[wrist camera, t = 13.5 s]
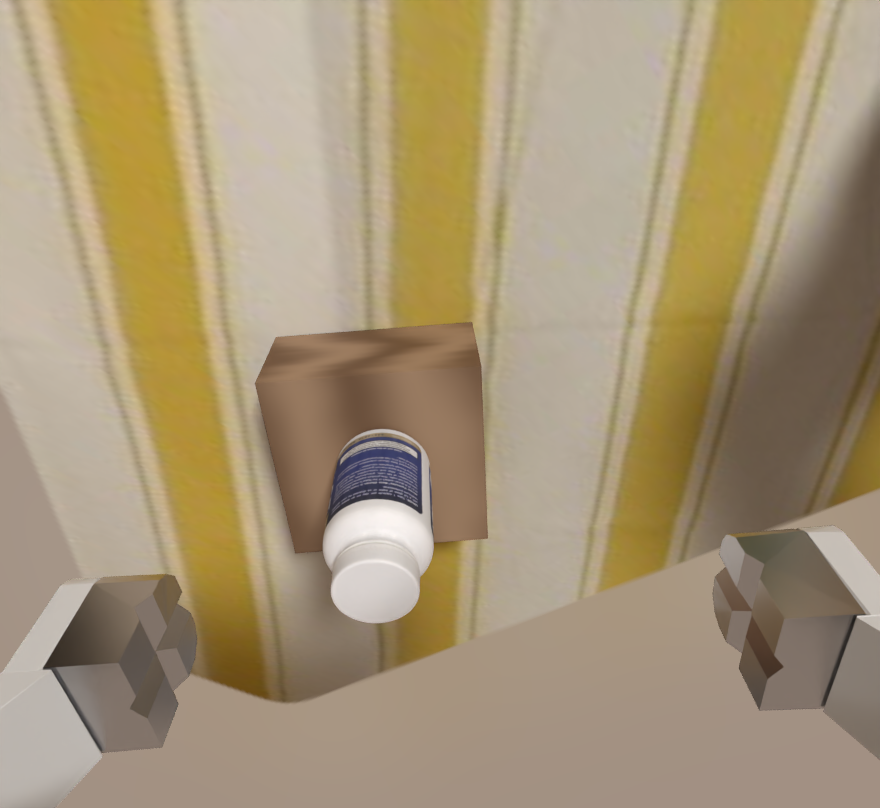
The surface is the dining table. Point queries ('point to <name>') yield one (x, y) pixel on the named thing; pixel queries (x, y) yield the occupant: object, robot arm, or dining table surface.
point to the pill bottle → (379, 526)
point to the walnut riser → (377, 417)
